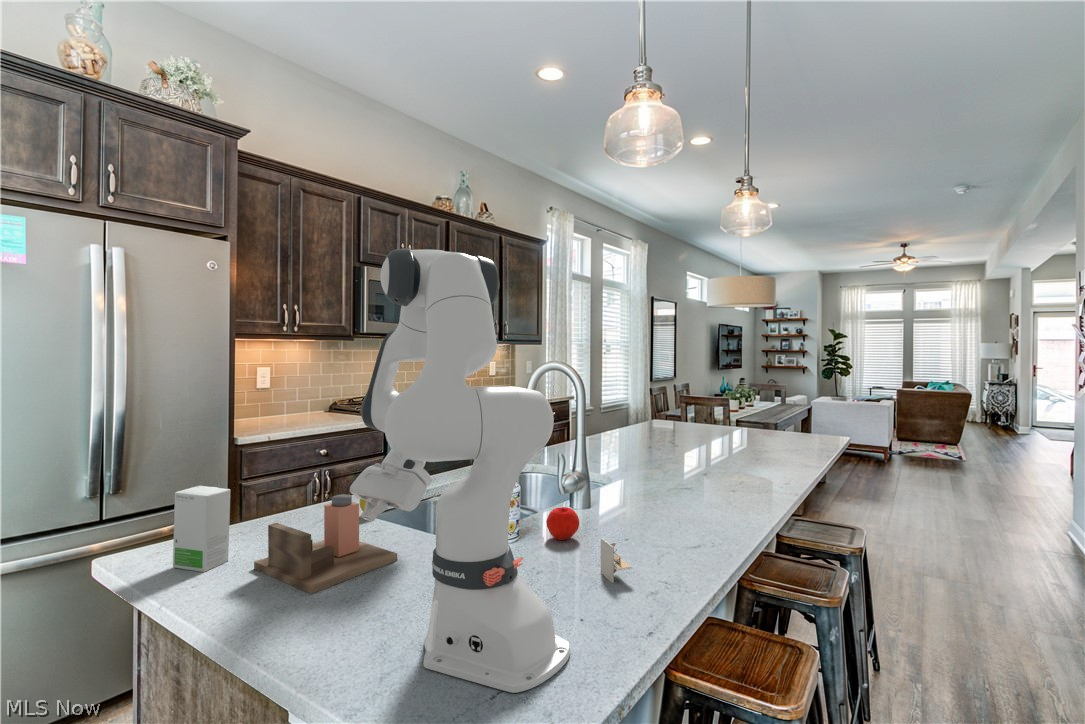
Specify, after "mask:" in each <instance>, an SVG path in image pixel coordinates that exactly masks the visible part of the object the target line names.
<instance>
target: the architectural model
mask: <svg viewBox="0 0 1085 724" xmlns="http://www.w3.org/2000/svg"><path fill="white" fill-rule="evenodd" d="M616 544H617V542H608V541H606V540H605V539H604V538H603V537H601V538H600V573H601V574H602V575H603V576H604V577H605V578H606V579H608V581H609V582H611V583H612V584H614V583H615V582H614V581H615V577H614V576H615V573H616V572H617V571H626V570H631V569H633V568H632V566H631V565H630V564H629V563H628V562H626V561H625V560H624V559H622V557H621V555H618V554H617V553H616V551H617V550H618V548H616V550H614V549H615V546H616Z"/></svg>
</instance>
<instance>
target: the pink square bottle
mask: <svg viewBox="0 0 1085 724" xmlns="http://www.w3.org/2000/svg"><path fill="white" fill-rule="evenodd" d="M352 498H353V496H352V494H346V493H345V494H336V495H332V497H331V503H327V504H324V506H323V508H324V510H323V511H324V513H323V517H324V521H323V524H324V525H323V526H324V527H323V528H324V529H323V531H324V533H323V534H324V536H323V540H324V547H326V546H332V547H334V556H337V557H340V556H343V555H346V554H349V553H352V552H355V551H358V550H359V541H360V502H359V503H358V502H354V501H352Z"/></svg>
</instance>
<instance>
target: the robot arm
mask: <svg viewBox="0 0 1085 724" xmlns="http://www.w3.org/2000/svg"><path fill="white" fill-rule="evenodd" d="M379 277H380V284H381V288H382V290H383V293H384V296H385V298H386V299H387V300H388V301H389V302H390V303H391V304H395V305H398V306H401V307H400V313H399V321H398V324H397V327H396V329H394V330H390V331H389V332H388V333H387V334H386V335H385V337H384V338H383V340H382V342H381V345H380V347H379V350H378V354H377V357H376V359H375V360H376V361H375V363H374V368H373V370H372V374H371V378H370V382H369V385H368V389H367V392H366V393H365V395H364V398H363V400H362V402H361V405H360V409H359V410H360V415H361V419H362V422H363V424H364V425H365V426H366V427H367V428H369V429H373V430H376V431H379V432H383V433H384V434H385V439H386V442H387V443H388V446H389V448H390V451H389V452H388V453H387V455H386V456H385V457H384V459H383V460H382V462H381V463H378V462H376V463H374V464H372V465H370V466H367V467H366V468H365V469H364V470H362V472H360V474H359V475H358V476H357V478H356V479H355V480H354V481H353V482H352V484H351V485H350V486H349V493H351V495H353V496H354V497H355V498H356V499H359V500H360V499H362V500H366V503H365V509H364V511H362V513H360V517H361V518H362V519H363V520H364V521H365V520H366V521H369V522H374V521H375V520H376V518H377V517H378V516H379V515H381V514H382V513H383V512H385V511H387V509H388V507H391V508H394V509H398V510H403V511H406V512H412V511H413V510H415V509H416V508H417V507H418V505H419V504H420V502H421V501H422V499H424V498H423V497H424V496H425V495H426V492H427V487H429V486H430V485H431V484H432V482H433V477H432V476H431V475H430V473H429V472H428V471H427V470H426V469H425V468H424V467H426V462H428V463H436V462H449V461H463V460H473V462H472V466H471V468H470V469H469V471H468V472H467V474H466V475H464V477H462V478H461V479H459V480H458V481H456V482H454V483H452V484H451V485H449V486H448V487H447V488H446V489H444V491H443V492H441V495H439V497H438V498H437V502H436V505H435V548H434V549H433V550H432V560H431V567H432V569H431V570H432V573H431V574H432V576H433V578H434V586H433V587H434V588H433V595H432V599H431V600H432V601H431V608H430V615H429V616H430V617H429V622H428V628H427V632H426V635H425V638H424V644H423V645H424V650H425V653H424V656H423V667H424V668H425V669H427V670H431V671H434V672H438V673H441V674H444V675H448V676H451V677H455V678H459V679H463V680H465V681H469V682H473V683H475V684H476V683H477V684H480V685H484V686H487V687H490V688H494V689H497V690H499V691H503V692H508V693H513V694H514V693H521V692H525V691H528V690H530V689H534V688H535V687H537V686H539V685H541V684H543V683H545V682H546V681H547V680H548V679H551V677H553V676H554V675H555V674H557V673H558V672H559V671H560V670H561V669H562V668H563V667H564V665H565V664H566V663H567V662H568V660H569V657H570V655H571V644H570V642H569V641H568V640H566V639H565V638H563V637H561V636H559V635H557V634H556V633H555V624H554V619H553V614H552V612H551V610H550V608H549V607H548V606H547V605H546V604H545V602H544V601H543V600H542V599H540V597H539V596H538V594H536V593H535V592H534V591H533V590H532V589H531V587H530V586H529V585H528V584H527V583H526V582H525V580H523V579H522V578H521V577H520V576H519V574H518V573H519V570H518V567H521V566H522V565H523V564H524V563H523V562H521V561H522V560H523V559H524V557H522V556H521V557H518V558H517V559H515V557H514V555H513V551H512V548H511V546H510V545H509V527H510V526H509V525H510V510H511V509H510V508H511V502H512V496H513V492H514V490H515V487H516V484H517V482H518V479H519V477H520V475H521V474H522V472H523V470H524V469H525V467H526V466H527V464H528V463H529V462H530V461H531V459H532V458H533V457H534V456H535V455H537V454H538V453H539V452H540V451H541V450H543V449H544V447H545V446H546V445H547V444H548V442H549V440H550V438H551V436H552V433H553V429H554V426H555V425H554V419H555V418H554V412H553V409H552V406H551V403H550V402H549V401H548V399H547V397H546V396H545V395H544V394H543V393H542V392H541V391H540V390H539V391H538V390H536V389H530V388H526V387H518V386H514V385H513V386H510V385H508V386H507V385H506V386H470V385H468V384H467V382H466V378H467V377H470V376H471V375H473V374H475V373H477V372H479V371H481V370H483V369H484V368H485V367H486V366H487V365H489V364H490V363H491V362H492V361H493V360H494V357H495V355H496V354H497V349H498V342H497V336H496V328H495V322H494V316H493V310H492V309H493V308H492V306H493V304H495V302H496V300H497V298H498V294H499V289H500V274H499V270H498V267H497V266H496V264H495V262H494V261H493V260H492V259H489V258H488V257H483V256H480V255H475V256H473V255H469V254H466V253H463V252H457V251H445V250H443V249H442V250H441V249H410V248H409V247H406V248H397V249H392V250H391V251H390V252H388V254H386V256H385V259H384V261H383V263H382V266H381V269H380V276H379ZM422 361H423V362H424V361H425V362H424V364H423V367H422V370H421V371H420V373H419V374H418V377H416V379H415V380H414V381H412V382H413V383H411V385H409V386H408V387H407V388H406V389H405V390H403V391H402V392H401V393H399V392H398V391H397V390H396V389H395V387H394V383H395V379H396V377H397V373H398V369H399V365H400V363H401V362H422ZM376 505H377V506H376ZM373 507H375V508H374V509H373Z"/></svg>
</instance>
